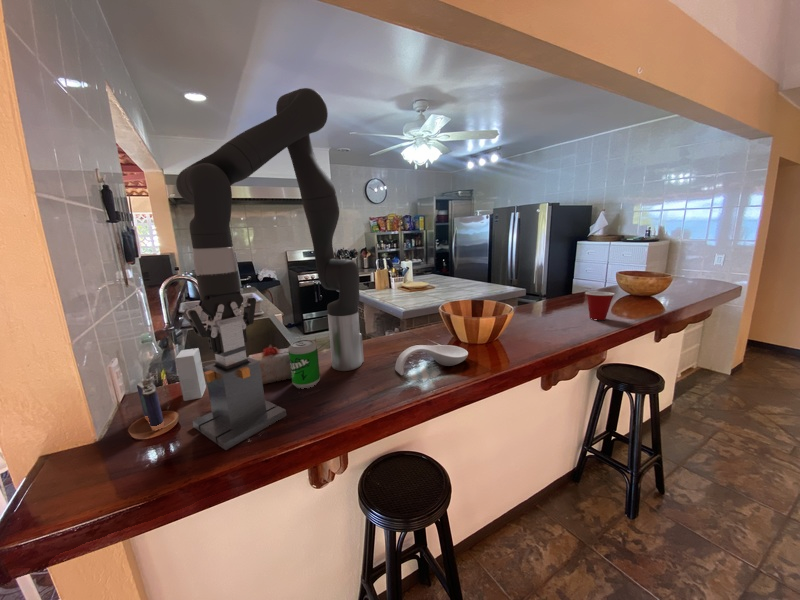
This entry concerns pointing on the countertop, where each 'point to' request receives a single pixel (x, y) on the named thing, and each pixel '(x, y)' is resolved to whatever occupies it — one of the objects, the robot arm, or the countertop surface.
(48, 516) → the countertop surface
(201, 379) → the skincare box
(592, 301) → the plastic cup
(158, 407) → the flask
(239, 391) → the stand
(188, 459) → the countertop surface
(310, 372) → the soda can
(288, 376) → the food item
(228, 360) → the column
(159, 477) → the countertop surface
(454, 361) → the spoon rest
